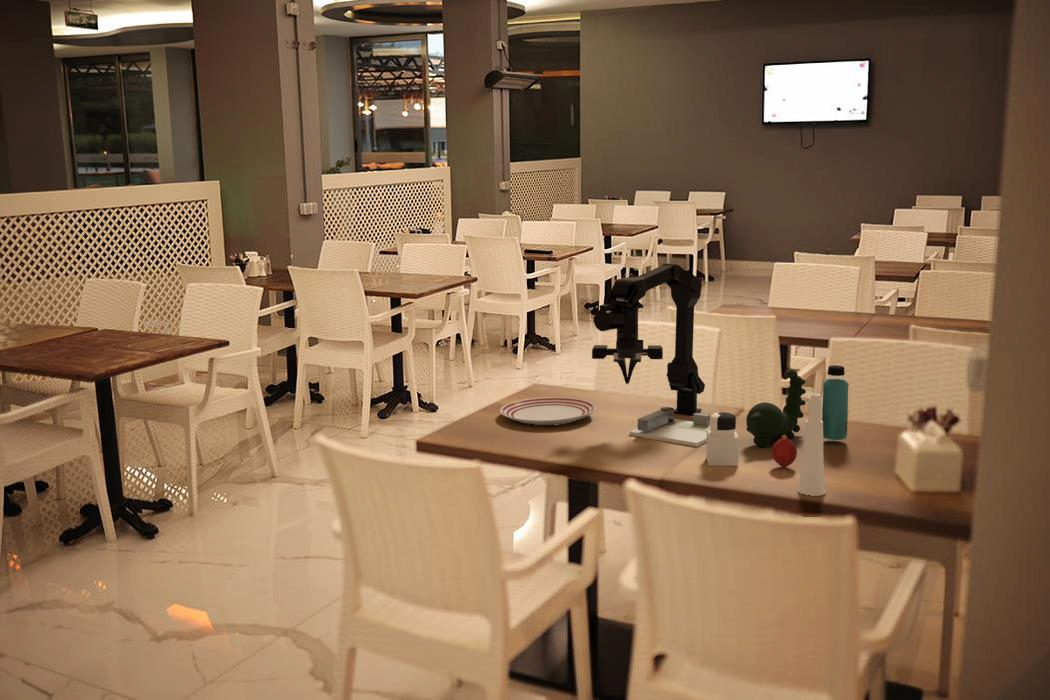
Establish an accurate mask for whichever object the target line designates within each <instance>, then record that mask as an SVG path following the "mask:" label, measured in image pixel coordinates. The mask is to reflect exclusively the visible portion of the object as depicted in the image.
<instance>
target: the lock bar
mask: <svg viewBox="0 0 1050 700" xmlns="http://www.w3.org/2000/svg"><path fill="white" fill-rule="evenodd" d="M674 416H675V413H674V408H673V407H670V406H665V407H660V409H658V410H656V411H653V412H651V413H649V414H646V415H644V416H641V417H639V418H637V428H638V430H641V431H647V432H648V431H650V430H652V429H655V428H657V427H659V426H661V425H664V424H666V423H668V422H671V421H674V419H675V418H674Z"/></svg>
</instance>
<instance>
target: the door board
mask: <svg viewBox="0 0 1050 700" xmlns="http://www.w3.org/2000/svg"><path fill="white" fill-rule="evenodd" d="M710 416H711V414H707V413H700V412H698V413H695V414H693V415H692V417H693V418H692V419H693V421H690V420H684V419H678V418H674V421H671V422H668V423H666V424H664V425H661V426H659V427H657V428H655V429H652V430H650V431H648V432H647V431H641V430H638V427H636V428H634V429H632V430H630V431H629V436H632V435H633V436H634V437H638V436H639V437H640V438H645V439H649V438H650V439H651V440H656V441H662V442H666V443H673V444H677V445H678V444H679V445H685V446H689V447H690V446H691V447H696V448H697V447H700V446H702V445H704V444H707V430H710ZM639 437H638V438H639ZM650 439H649V440H650Z"/></svg>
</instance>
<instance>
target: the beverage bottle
mask: <svg viewBox="0 0 1050 700" xmlns="http://www.w3.org/2000/svg"><path fill="white" fill-rule="evenodd" d="M845 374H846V373H845V367H844V366H843V365H828V369H827V376H834V377H829V378H828V377H827V379H825V381H823V383H822V407H821V420H822V421H823V439H827V440H831V441H843V440H845V439H847V437H848V429H849V428H848V425H849V419H848V418H849V386H850V384H849V382H848V381H847V380H846V379H844V378H840V377H841V376H845Z"/></svg>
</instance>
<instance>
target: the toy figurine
mask: <svg viewBox="0 0 1050 700" xmlns="http://www.w3.org/2000/svg"><path fill="white" fill-rule="evenodd" d="M788 379H789V386H788V387H787V396H786V398H785V405H784V406H783V408H782V410H781V408H779V407H778V406H777V405H776V404H774V403H770V402H764V401H763V402H759V403H757V404H755V405H753V406H752V407H751V408H750V409H749V411H748V413H747V415H746V419H745V420H746V431H747V432H748V433H750V434H751V435H752V436H753V439H752V440H753V443H754V445H756V446H758V447H760V448H766V447H768V446H769V445H770V444H771V440H773V439H777V441H778V440H780V439H781V438H782V437H781V436H783V435H785V436H786V437H787V438H788V439H789V440H794V438H795V433H799V432H800V430H801V426H800V425H798V419H802V418H804V417H805V416H804V415H805V414H804V412H802V410H801V407H802V406H805V405H806V400H803V399H802V396H803V395H805V394H806V393H807V390H806V389H805V388H803V385H805V384H806V380H805V379H803V378H802V376H800V375H799V374H798V372H797V370H795V369H792V368H789V369H786V371H785V372H784V374H783V380H785V381H786V380H788Z"/></svg>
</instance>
